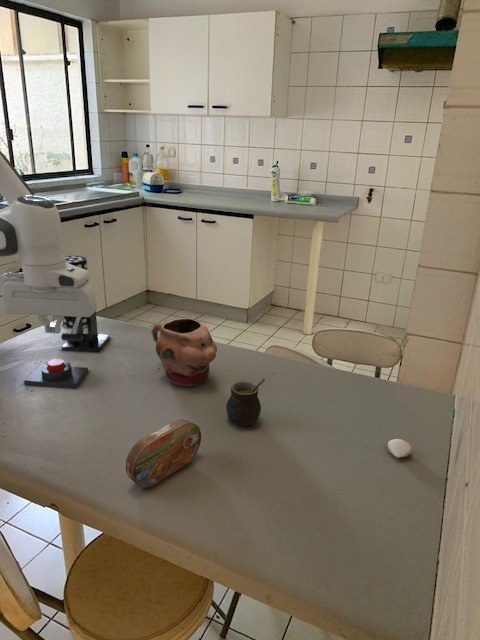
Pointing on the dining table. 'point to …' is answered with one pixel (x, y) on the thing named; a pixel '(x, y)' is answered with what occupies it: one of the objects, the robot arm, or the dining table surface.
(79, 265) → the spotted tube
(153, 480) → the tin
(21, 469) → the dining table surface
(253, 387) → the mate gourd
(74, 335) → the toast lever
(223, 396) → the dining table surface
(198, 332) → the character head mug
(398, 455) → the white pebble
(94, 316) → the lever bracket
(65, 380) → the button housing
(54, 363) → the button
